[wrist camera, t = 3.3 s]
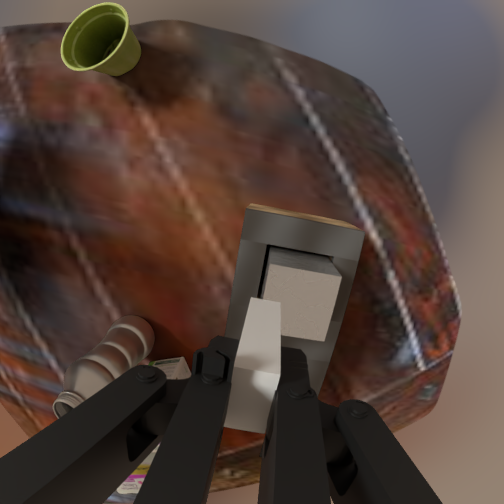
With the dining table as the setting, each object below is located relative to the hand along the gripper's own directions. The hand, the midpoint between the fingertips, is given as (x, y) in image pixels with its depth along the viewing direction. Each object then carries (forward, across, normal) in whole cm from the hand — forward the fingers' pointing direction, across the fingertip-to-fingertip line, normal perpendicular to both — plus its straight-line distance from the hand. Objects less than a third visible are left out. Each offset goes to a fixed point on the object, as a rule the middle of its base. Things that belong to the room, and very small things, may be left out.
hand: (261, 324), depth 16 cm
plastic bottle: (+24, -16, -16) cm, 33 cm away
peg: (+18, +3, -2) cm, 19 cm away
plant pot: (+24, -24, +22) cm, 40 cm away
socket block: (+24, +3, -8) cm, 26 cm away
